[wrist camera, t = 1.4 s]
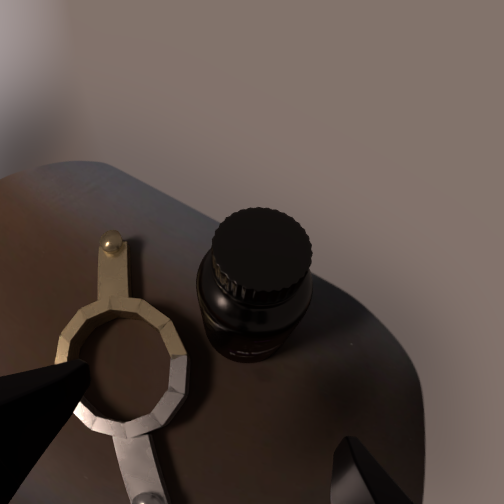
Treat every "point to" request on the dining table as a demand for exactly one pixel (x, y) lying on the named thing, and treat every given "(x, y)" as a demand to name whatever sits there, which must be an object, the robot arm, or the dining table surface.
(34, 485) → the dining table surface
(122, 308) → the ring with knobbed tab
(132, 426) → the segmented ring handle
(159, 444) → the dining table surface
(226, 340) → the supplement bottle
